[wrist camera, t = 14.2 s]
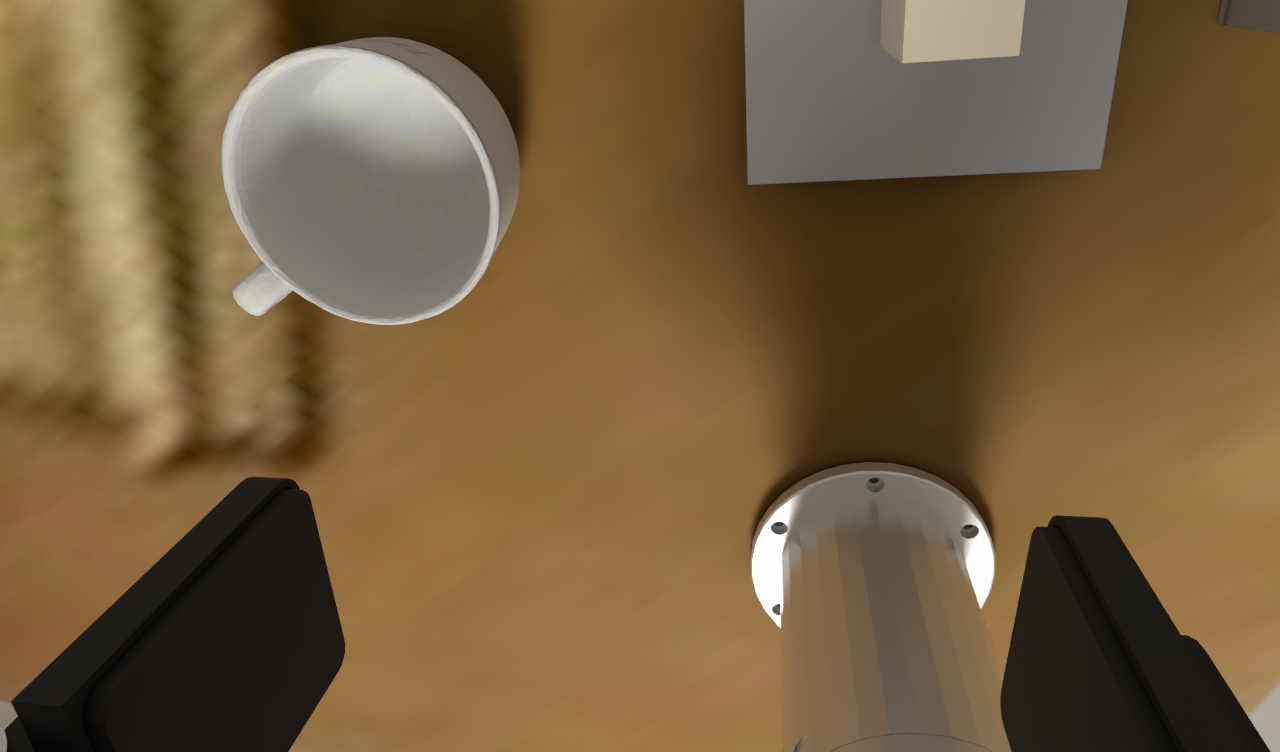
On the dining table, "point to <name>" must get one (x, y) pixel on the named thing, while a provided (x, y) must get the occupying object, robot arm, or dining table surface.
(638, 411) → the dining table surface
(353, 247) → the teacup
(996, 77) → the lid
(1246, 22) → the open box
